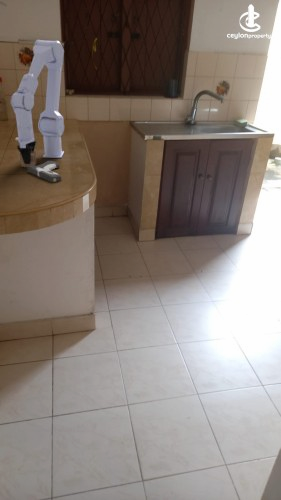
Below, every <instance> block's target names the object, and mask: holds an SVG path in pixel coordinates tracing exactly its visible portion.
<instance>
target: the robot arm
mask: <svg viewBox="0 0 281 500" xmlns="http://www.w3.org/2000/svg"><path fill="white" fill-rule="evenodd" d="M32 50H33V58H32V61H31V64H30V67H29V71H28V73H26V74H25V73H24V75H23V77H22V78H21V81H20V84H19V85H18V89H17V90H16V91H15V92H14V93H13V94H12V95H11V97H10V105H11V107H12V109H13V113H14V114H15V119H16V128H17V129H16V130H17V136H18V137H15V141H18V143H19V145H16V148H17V150H18V152H19V153H20V154H21V155H22V158H23V161H24V163H25V164H30V162H31V151H35V149H36V148H35V147H36V145H37V141H36V140H35V139H36V138H35V135H34V127H33V118H32V117H33V115H32V109H33V108H34V106H35V96H34V95H35V93H36V91H37V88H38V86H39V80H38V78H39V76H40V74H41V73H42V70H43V68H44V66H46V68H47V79H46V80H47V81H46V93H45V95H46V97H45V109H44V110H43V111H42V112H41V113H40V115H39V120H38V124H37V126H38V130H39V131H40V133H41V135H42V137H43V147H44V148H43V149H44V154H43V155H42V158H53V159H54V158H55V159H56V158H57V159H62V158H63V156H64V153H65V151H64V150H63V149H62V148H63V147H62V137H61V136H62V135H63V134H64V132H65V123H64V122H65V121H64V120H65V118H64V116H63V115H62V114H61V113H60V112H59V109H60V108H59V107H60V95H61V93H60V92H61V81H62V68H63V67H64V66H63V65H64V53H65V50H64V47H63V45H62V43H61V42H60V41H59V40H42V39H37V40H35V42H34V45H33V47H32Z"/></svg>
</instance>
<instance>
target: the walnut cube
mask: <svg viewBox="0 0 281 500" xmlns="http://www.w3.org/2000/svg"><path fill="white" fill-rule="evenodd" d="M19 156H20V165H21V168H23V167H24V168H27V167H28V166H32V165H36V166H37V164H36V163H37V152H36V151H35V150H34V151H31V162H30V164H25V163H24V161H23V158H22V155H21V153H20V154H19Z"/></svg>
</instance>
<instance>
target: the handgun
mask: <svg viewBox="0 0 281 500" xmlns="http://www.w3.org/2000/svg"><path fill="white" fill-rule="evenodd" d="M26 168H27V173H30V172H31V173H30V174H32V173H33V174H32V175H34V174H35V176H36V175H37V177H39V178H41V177H42V178H41V179H43V178H44V180H46V181H48V182H51V184H52V183H56V182H59V181H62V176H60V175H59V173H57V172H54V171H53V170H56V169H55V168H57V169H60V164H59V162H57V161H53V160H46V161H45V162H44V163H41V164H39V165H38V164H37V165H36V166H35V165H32V166H28V167H26Z"/></svg>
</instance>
